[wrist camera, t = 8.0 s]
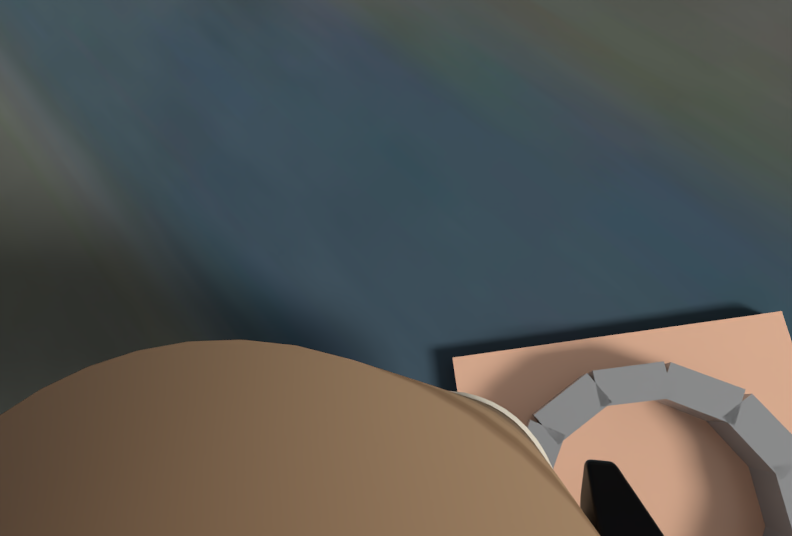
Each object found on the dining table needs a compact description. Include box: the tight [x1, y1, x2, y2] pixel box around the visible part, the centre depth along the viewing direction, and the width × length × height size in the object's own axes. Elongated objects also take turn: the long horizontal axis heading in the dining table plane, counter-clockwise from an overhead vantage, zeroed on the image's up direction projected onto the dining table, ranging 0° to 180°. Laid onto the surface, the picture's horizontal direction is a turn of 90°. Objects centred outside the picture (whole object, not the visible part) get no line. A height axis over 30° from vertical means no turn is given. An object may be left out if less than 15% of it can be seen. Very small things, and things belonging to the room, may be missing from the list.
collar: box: [453, 311, 792, 536], centre depth 18 cm, size 12×12×3 cm
